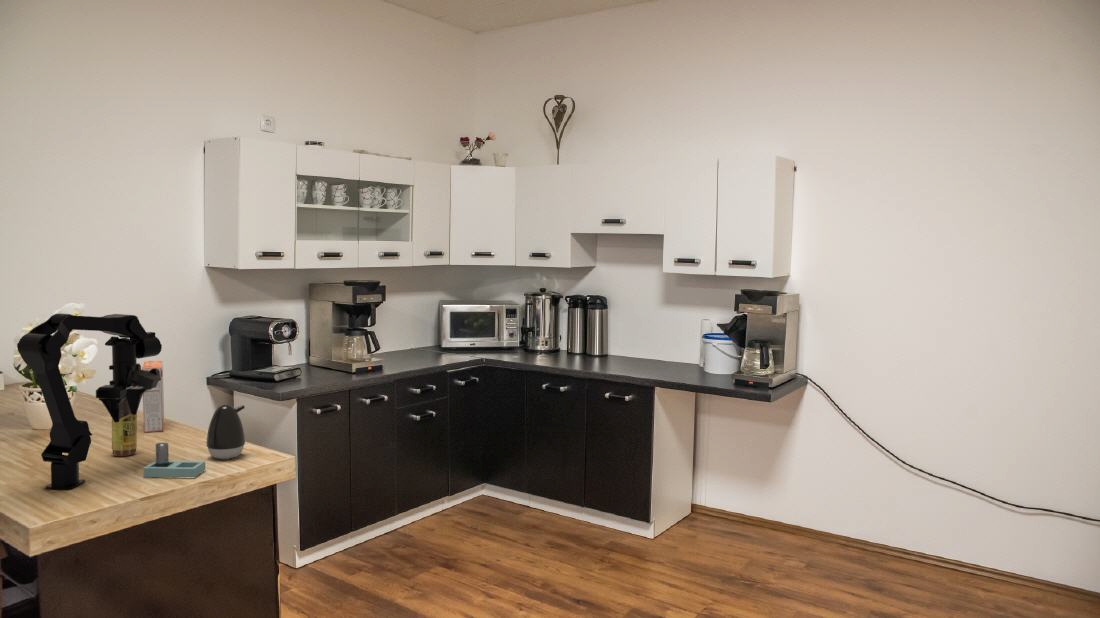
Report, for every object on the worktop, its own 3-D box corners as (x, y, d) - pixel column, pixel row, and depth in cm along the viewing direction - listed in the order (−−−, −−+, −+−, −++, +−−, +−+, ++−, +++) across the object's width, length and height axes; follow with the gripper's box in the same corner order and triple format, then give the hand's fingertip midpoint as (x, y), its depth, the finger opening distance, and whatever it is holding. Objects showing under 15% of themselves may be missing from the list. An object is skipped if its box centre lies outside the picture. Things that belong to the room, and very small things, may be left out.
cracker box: (144, 423, 262) (143, 360, 260) (164, 422, 265) (163, 360, 263) (142, 433, 249) (141, 367, 248) (163, 431, 252) (162, 366, 250)
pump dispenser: (251, 458, 225) (251, 405, 223) (213, 464, 218) (213, 409, 217) (238, 450, 232) (238, 399, 231) (201, 456, 226) (200, 403, 224)
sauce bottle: (126, 458, 221) (124, 388, 220) (106, 456, 223) (105, 386, 221) (142, 452, 228) (141, 384, 226) (123, 450, 229) (122, 382, 227)
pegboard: (194, 478, 205) (194, 468, 204) (143, 477, 204) (143, 468, 204) (205, 470, 212) (205, 461, 211) (156, 469, 211) (156, 460, 211)
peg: (165, 475, 206) (165, 445, 206) (153, 475, 206) (153, 445, 206) (170, 472, 209) (170, 442, 209) (159, 472, 209) (158, 442, 209)
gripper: (137, 367, 203) (139, 427, 204) (170, 356, 222) (171, 411, 223) (93, 366, 203) (95, 426, 204) (130, 355, 221) (131, 410, 223)
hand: (125, 418), depth 213 cm, fingers open, 9 cm apart
